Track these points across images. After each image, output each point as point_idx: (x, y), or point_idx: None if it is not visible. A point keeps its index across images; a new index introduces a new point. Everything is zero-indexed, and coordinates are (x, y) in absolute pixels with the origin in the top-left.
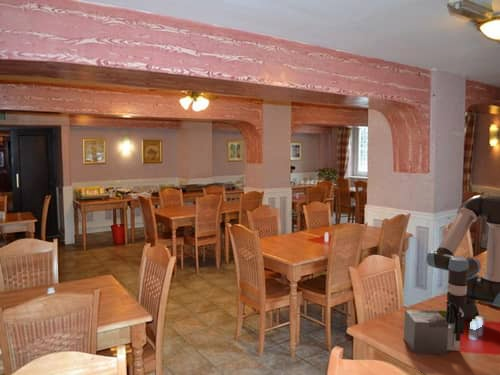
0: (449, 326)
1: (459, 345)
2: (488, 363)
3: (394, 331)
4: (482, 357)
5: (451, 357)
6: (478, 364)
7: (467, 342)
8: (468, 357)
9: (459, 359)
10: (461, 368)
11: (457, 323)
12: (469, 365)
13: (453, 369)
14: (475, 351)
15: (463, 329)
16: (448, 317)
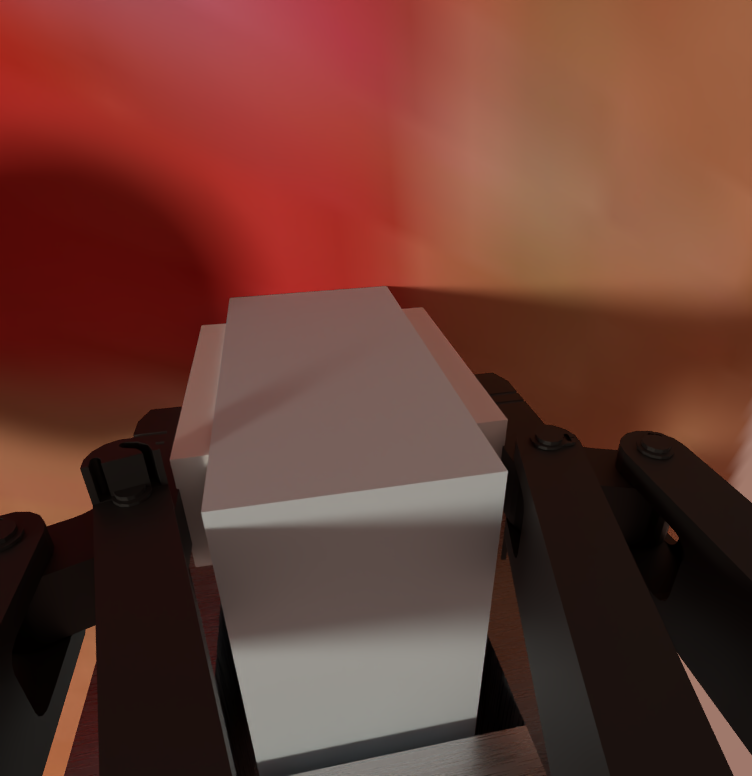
0: (400, 642)
1: (431, 325)
2: (721, 18)
3: (53, 770)
4: (570, 18)
5: (541, 419)
6: (711, 182)
7: (61, 18)
8: (554, 235)
9: (585, 355)
10: (731, 391)
11: (742, 735)
12: (705, 296)
13: (727, 457)
14: (393, 37)
15: (744, 516)
16: (34, 735)
